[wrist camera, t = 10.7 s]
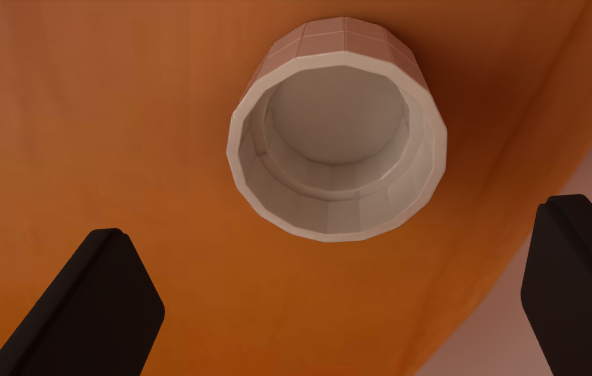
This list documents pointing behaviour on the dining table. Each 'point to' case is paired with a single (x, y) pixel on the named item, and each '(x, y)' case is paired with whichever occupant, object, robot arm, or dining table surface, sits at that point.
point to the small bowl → (337, 133)
